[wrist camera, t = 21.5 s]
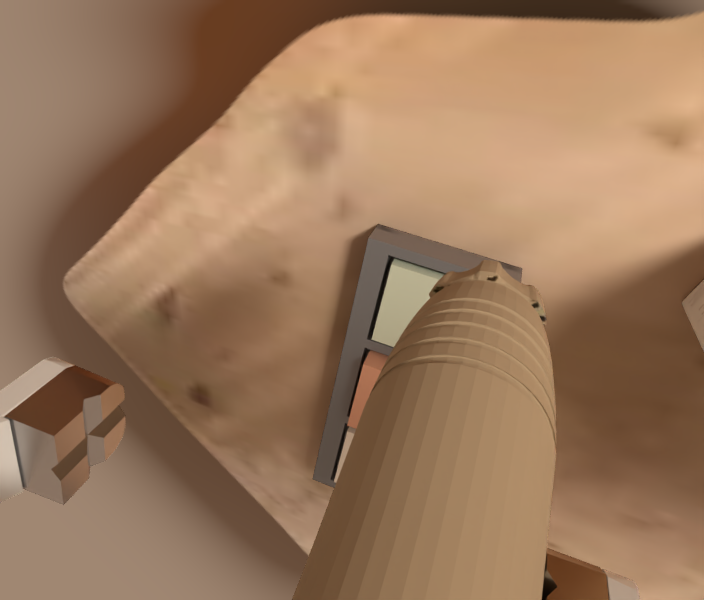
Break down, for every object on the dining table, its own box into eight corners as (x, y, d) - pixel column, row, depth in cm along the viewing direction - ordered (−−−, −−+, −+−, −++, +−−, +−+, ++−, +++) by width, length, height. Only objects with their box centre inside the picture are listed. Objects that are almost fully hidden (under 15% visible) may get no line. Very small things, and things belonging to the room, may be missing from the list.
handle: (530, 175, 14) (288, 1615, 2) (607, 377, 16) (776, 1744, 3) (368, 236, 16) (-257, 1023, 4) (452, 407, 18) (219, 1302, 6)
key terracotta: (371, 347, 42) (363, 364, 40) (451, 375, 41) (447, 393, 39) (355, 408, 46) (347, 425, 44) (429, 435, 45) (424, 454, 43)
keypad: (378, 224, 39) (368, 237, 37) (522, 268, 38) (520, 285, 35) (322, 459, 52) (312, 479, 50) (426, 499, 51) (421, 522, 48)
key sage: (398, 251, 39) (391, 264, 37) (487, 279, 38) (484, 294, 36) (378, 324, 42) (371, 339, 40) (459, 351, 41) (455, 368, 39)
